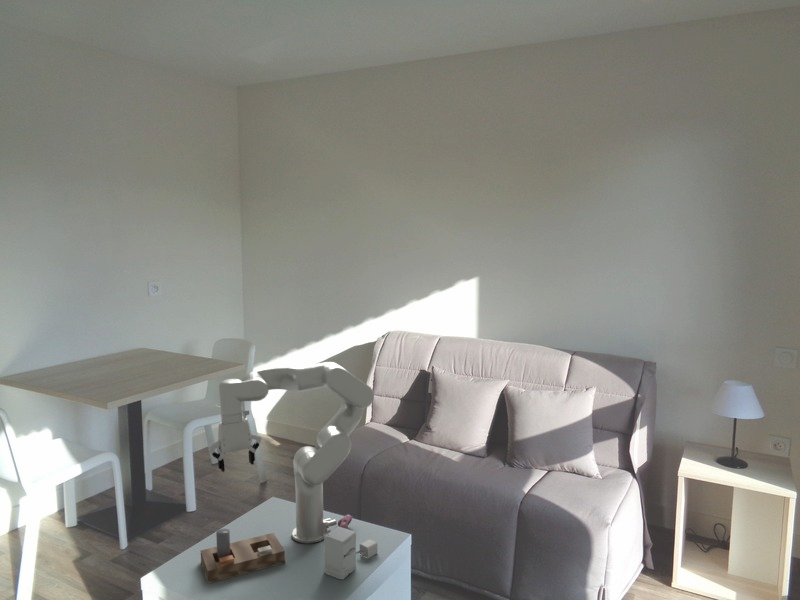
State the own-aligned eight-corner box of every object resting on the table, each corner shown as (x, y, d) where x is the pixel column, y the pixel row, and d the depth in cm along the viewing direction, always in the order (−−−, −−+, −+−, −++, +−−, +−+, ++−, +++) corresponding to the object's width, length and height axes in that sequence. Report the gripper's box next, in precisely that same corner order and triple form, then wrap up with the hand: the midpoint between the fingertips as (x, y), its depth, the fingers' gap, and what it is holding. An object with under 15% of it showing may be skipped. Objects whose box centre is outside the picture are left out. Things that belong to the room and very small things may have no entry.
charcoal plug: (229, 562, 189) (228, 527, 187) (232, 568, 185) (230, 533, 184) (216, 566, 187) (215, 530, 185) (219, 572, 183) (217, 536, 182)
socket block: (273, 543, 200) (273, 528, 199) (285, 562, 189) (284, 546, 188) (201, 562, 189) (200, 546, 188) (208, 583, 177) (207, 566, 177)
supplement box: (342, 580, 179) (342, 542, 177) (323, 573, 183) (323, 535, 181) (356, 569, 185) (356, 531, 183) (338, 562, 189) (337, 525, 187)
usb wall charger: (377, 554, 194) (377, 542, 193) (362, 562, 189) (362, 551, 188) (369, 549, 196) (369, 538, 196) (353, 558, 191) (353, 546, 191)
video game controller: (341, 543, 203) (349, 527, 202) (329, 537, 203) (338, 520, 202) (348, 529, 213) (356, 514, 211) (337, 523, 213) (345, 507, 212)
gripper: (255, 409, 198) (259, 457, 201) (203, 419, 190) (207, 469, 192) (262, 414, 192) (266, 464, 194) (209, 425, 183) (213, 477, 186)
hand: (237, 466), depth 193 cm, fingers open, 9 cm apart
